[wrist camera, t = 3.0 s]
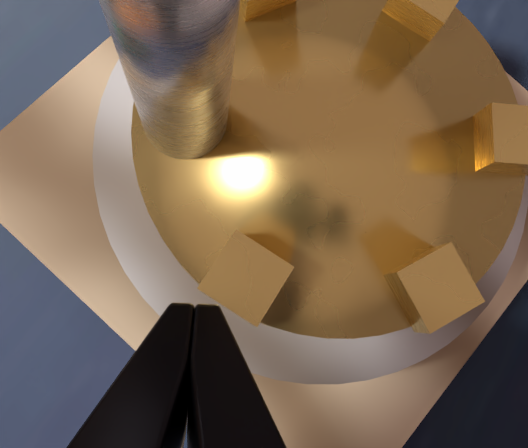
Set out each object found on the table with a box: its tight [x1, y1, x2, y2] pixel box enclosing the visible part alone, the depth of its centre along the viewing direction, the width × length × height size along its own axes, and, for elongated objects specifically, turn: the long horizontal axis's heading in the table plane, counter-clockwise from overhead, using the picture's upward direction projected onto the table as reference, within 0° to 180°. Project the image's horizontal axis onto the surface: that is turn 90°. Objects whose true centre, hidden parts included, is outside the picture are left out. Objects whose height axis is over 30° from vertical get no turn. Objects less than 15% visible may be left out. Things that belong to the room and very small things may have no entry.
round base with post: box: [99, 0, 528, 339], centre depth 11 cm, size 12×12×11 cm
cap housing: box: [0, 36, 528, 448], centre depth 18 cm, size 18×18×3 cm
